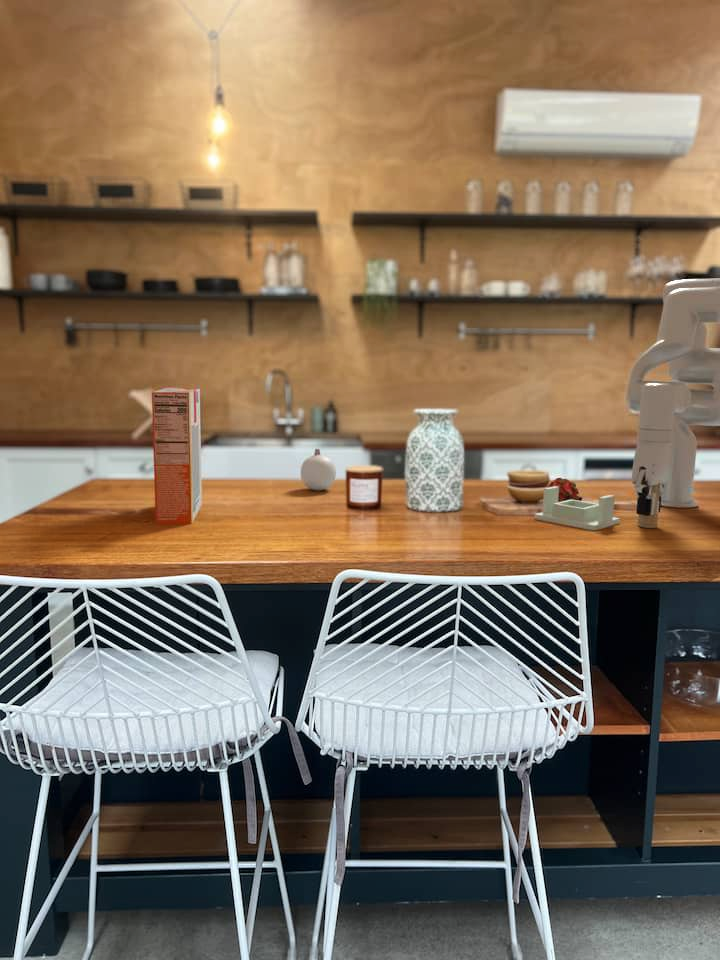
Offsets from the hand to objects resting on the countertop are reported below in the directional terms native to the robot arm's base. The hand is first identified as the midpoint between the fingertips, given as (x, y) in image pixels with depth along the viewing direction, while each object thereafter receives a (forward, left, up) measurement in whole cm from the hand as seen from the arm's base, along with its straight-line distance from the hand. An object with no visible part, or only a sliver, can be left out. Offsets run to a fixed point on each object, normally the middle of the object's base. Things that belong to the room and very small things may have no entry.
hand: (648, 512), depth 172 cm
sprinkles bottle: (0, 0, -4) cm, 4 cm away
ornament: (+30, -85, -4) cm, 90 cm away
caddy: (+8, -14, -3) cm, 16 cm away
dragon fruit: (-4, -25, -4) cm, 26 cm away
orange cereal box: (+77, -82, -4) cm, 113 cm away
